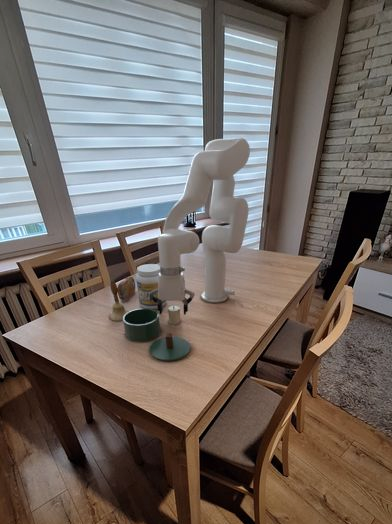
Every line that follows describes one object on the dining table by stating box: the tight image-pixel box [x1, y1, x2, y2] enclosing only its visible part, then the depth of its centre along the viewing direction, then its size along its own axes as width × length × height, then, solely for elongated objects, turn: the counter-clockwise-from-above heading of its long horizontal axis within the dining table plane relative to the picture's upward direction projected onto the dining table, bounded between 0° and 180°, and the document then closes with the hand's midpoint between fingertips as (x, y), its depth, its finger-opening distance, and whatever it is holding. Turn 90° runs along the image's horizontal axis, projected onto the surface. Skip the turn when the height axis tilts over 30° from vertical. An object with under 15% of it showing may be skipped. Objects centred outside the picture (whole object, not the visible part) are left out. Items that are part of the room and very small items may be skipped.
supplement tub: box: [135, 263, 167, 310], centre depth 121 cm, size 12×12×17 cm
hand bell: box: [109, 279, 129, 322], centre depth 112 cm, size 8×8×16 cm
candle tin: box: [122, 307, 162, 343], centre depth 103 cm, size 13×13×7 cm
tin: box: [117, 276, 136, 302], centre depth 131 cm, size 15×3×8 cm, turn 168°
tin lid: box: [148, 332, 191, 362], centre depth 94 cm, size 14×14×6 cm
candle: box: [167, 305, 181, 325], centre depth 110 cm, size 5×5×7 cm
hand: (173, 312), depth 109 cm, fingers open, 9 cm apart
